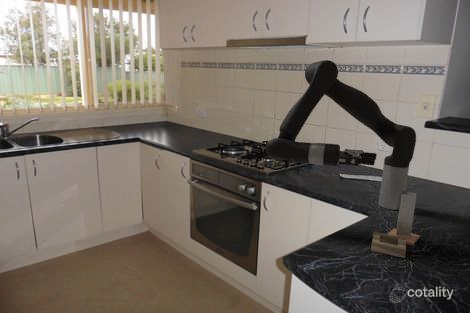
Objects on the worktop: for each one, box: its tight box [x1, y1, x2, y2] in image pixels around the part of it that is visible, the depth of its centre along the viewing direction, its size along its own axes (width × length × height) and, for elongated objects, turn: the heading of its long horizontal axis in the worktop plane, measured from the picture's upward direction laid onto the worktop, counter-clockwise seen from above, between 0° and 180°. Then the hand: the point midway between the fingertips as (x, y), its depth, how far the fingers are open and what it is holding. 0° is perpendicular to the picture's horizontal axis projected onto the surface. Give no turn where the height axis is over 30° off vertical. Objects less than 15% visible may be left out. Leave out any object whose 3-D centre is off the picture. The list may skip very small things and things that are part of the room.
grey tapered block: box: [396, 191, 417, 239], centre depth 112 cm, size 4×4×14 cm
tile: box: [387, 228, 420, 246], centre depth 114 cm, size 8×8×1 cm
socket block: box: [370, 231, 407, 259], centre depth 106 cm, size 9×9×2 cm
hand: (375, 159), depth 113 cm, fingers open, 8 cm apart
